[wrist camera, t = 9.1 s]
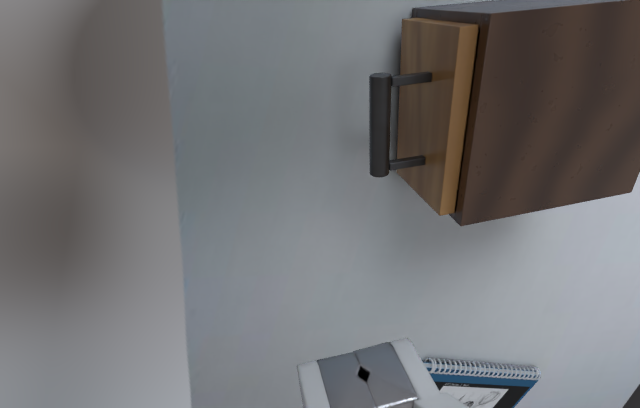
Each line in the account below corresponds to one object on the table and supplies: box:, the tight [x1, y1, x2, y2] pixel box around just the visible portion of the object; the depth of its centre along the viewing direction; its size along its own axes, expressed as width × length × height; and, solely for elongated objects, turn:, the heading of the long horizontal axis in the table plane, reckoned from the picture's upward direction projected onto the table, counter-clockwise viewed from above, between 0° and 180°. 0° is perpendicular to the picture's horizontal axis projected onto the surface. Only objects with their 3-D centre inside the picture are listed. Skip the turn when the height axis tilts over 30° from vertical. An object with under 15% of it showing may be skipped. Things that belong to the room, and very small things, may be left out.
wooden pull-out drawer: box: [369, 18, 480, 216], centre depth 28 cm, size 18×12×8 cm
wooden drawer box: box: [412, 0, 640, 226], centre depth 29 cm, size 15×14×10 cm
